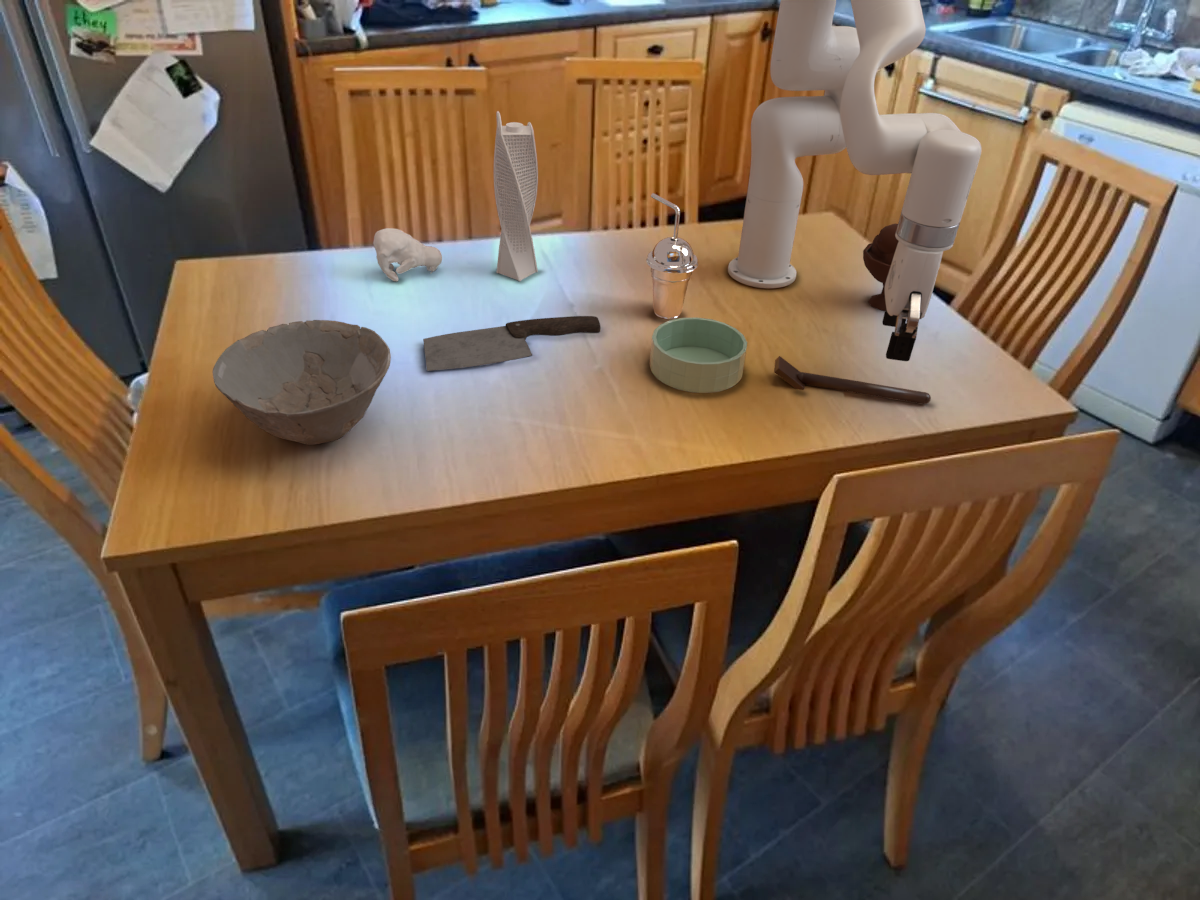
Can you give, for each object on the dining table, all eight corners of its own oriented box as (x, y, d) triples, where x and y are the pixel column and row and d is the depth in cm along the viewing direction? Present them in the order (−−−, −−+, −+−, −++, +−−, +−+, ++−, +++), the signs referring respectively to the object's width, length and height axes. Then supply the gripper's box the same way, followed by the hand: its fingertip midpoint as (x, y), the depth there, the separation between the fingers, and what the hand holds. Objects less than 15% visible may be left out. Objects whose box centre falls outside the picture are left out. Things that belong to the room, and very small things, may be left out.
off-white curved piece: (370, 223, 155) (439, 222, 159) (371, 268, 160) (437, 267, 164) (376, 237, 150) (446, 236, 155) (376, 283, 155) (444, 281, 159)
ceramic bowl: (238, 492, 109) (220, 425, 103) (221, 396, 125) (206, 333, 120) (416, 455, 116) (410, 391, 110) (378, 369, 133) (371, 309, 127)
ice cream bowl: (918, 321, 153) (941, 239, 144) (852, 313, 154) (871, 231, 145) (913, 294, 161) (935, 215, 152) (851, 287, 163) (869, 208, 154)
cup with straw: (656, 331, 146) (666, 214, 134) (632, 307, 153) (640, 193, 141) (701, 323, 149) (715, 208, 137) (675, 299, 156) (687, 188, 144)
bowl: (657, 342, 143) (659, 312, 140) (745, 354, 141) (750, 324, 138) (642, 388, 132) (645, 356, 129) (738, 402, 130) (743, 370, 127)
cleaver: (591, 319, 148) (592, 307, 147) (612, 347, 141) (613, 335, 140) (415, 345, 139) (414, 333, 138) (428, 376, 132) (427, 364, 131)
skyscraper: (486, 272, 161) (480, 114, 145) (512, 259, 166) (509, 105, 150) (520, 285, 158) (518, 124, 141) (545, 271, 163) (546, 114, 146)
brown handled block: (773, 372, 132) (828, 320, 125) (775, 359, 135) (828, 308, 128) (876, 451, 136) (934, 404, 129) (875, 437, 139) (932, 391, 132)
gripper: (893, 202, 124) (866, 310, 135) (902, 252, 111) (870, 369, 121) (949, 208, 123) (916, 317, 134) (964, 260, 110) (927, 377, 120)
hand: (894, 341), depth 127 cm, fingers open, 9 cm apart
